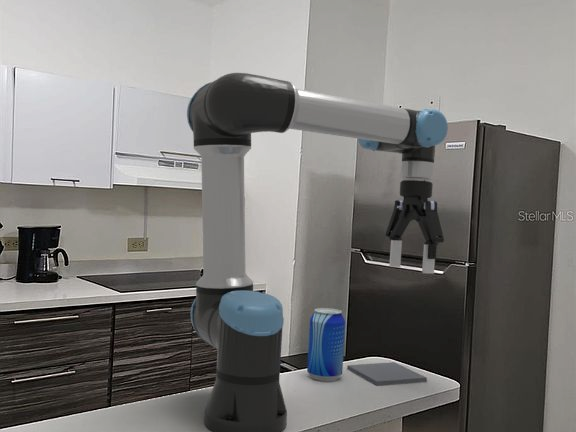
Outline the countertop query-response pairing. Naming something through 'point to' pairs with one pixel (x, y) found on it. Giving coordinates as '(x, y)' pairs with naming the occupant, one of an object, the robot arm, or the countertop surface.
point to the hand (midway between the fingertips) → (410, 270)
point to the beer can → (326, 344)
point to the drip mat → (386, 373)
